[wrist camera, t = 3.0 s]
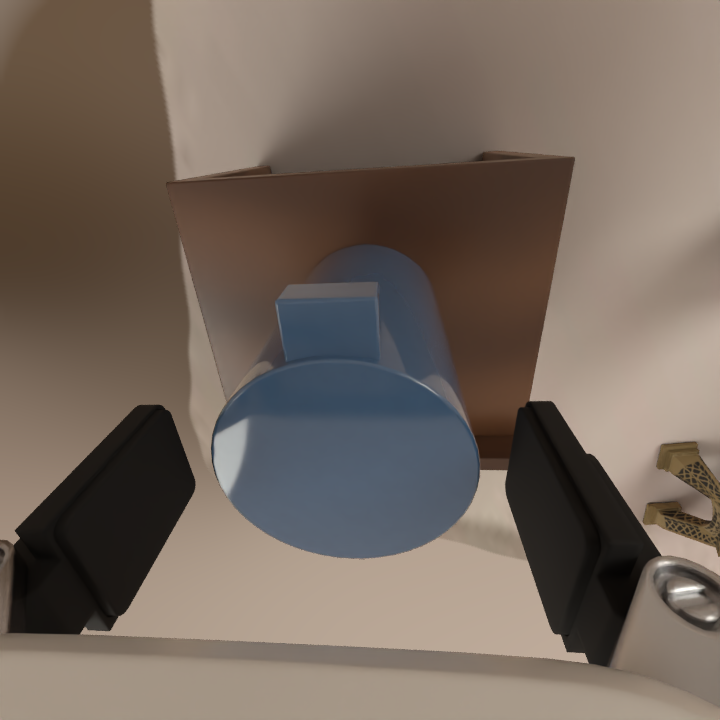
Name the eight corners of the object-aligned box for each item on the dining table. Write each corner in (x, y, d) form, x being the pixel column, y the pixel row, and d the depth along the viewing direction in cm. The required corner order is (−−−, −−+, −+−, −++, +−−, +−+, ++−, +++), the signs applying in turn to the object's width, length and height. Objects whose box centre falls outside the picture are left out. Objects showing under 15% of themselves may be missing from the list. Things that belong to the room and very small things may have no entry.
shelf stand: (255, 166, 26) (139, 186, 14) (498, 150, 25) (599, 158, 13) (287, 349, 33) (226, 467, 21) (478, 345, 31) (531, 471, 19)
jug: (285, 217, 16) (157, 307, 7) (441, 209, 15) (504, 297, 7) (314, 415, 21) (258, 607, 12) (433, 415, 20) (462, 617, 12)
